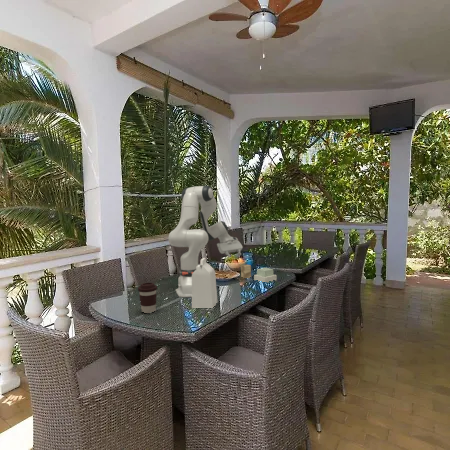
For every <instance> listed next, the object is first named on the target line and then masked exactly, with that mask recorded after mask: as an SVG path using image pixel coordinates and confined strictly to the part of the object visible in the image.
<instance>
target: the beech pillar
mask: <svg viewBox="0 0 450 450" xmlns="http://www.w3.org/2000/svg"><path fill="white" fill-rule="evenodd" d="M251 265H252V264H242V265H240V274H241V275H240V276H241V277H243V278H242V279H244V278H248V279H251V278H252V266H251ZM241 277H240V278H241ZM250 277H251V278H250Z"/></svg>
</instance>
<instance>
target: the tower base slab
mask: <svg viewBox="0 0 450 450" xmlns="http://www.w3.org/2000/svg"><path fill="white" fill-rule="evenodd" d="M253 280H254V281H255V280H258V281H257V282H259V281H262V282H261V283H263V282H267V283H270V282H269V281H271V282H274V281H273V280H275V281H277V274H274V273H273V275H271V276H267V277H263V276H260V275H257V274H254V275H253Z"/></svg>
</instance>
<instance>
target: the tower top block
mask: <svg viewBox="0 0 450 450" xmlns="http://www.w3.org/2000/svg"><path fill="white" fill-rule="evenodd" d="M273 274H274V269H273V268H269V267H262V268H256V275H260V276H263V277H267V276H271V275H273Z"/></svg>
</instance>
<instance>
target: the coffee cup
mask: <svg viewBox="0 0 450 450" xmlns="http://www.w3.org/2000/svg"><path fill="white" fill-rule="evenodd" d="M157 290H158V286H157V284H155V283H154V282H142V283H141V284H140V286H138V287H137V291H138V292H139V294H138V295H139V296H138V297H139V302H140V304H139V305H140V308H141V313H142V312H144V313H150V312H154V311H155V312H156V309H157ZM155 312H154V313H155ZM144 313H143V314H144ZM150 314H151V313H150Z"/></svg>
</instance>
